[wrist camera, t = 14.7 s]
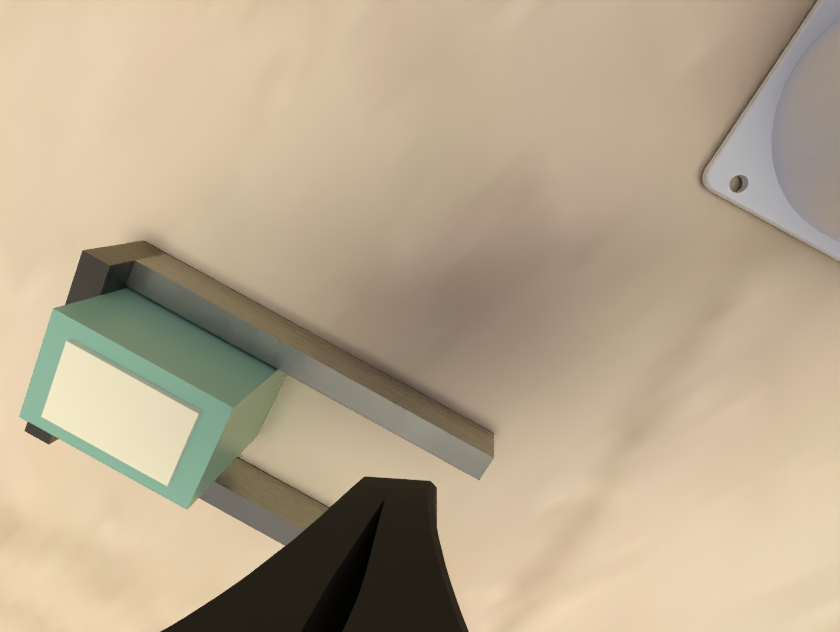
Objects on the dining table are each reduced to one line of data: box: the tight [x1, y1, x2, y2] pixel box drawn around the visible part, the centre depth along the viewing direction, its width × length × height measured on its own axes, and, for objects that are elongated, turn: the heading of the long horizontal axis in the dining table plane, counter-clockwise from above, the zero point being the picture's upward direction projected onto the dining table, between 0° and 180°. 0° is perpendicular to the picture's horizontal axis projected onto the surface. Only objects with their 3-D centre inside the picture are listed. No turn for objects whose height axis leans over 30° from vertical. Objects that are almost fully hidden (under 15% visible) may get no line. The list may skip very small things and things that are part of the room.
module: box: [19, 287, 286, 509], centre depth 18 cm, size 6×4×5 cm, turn 62°
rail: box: [25, 241, 494, 546], centre depth 19 cm, size 15×7×3 cm, turn 62°
